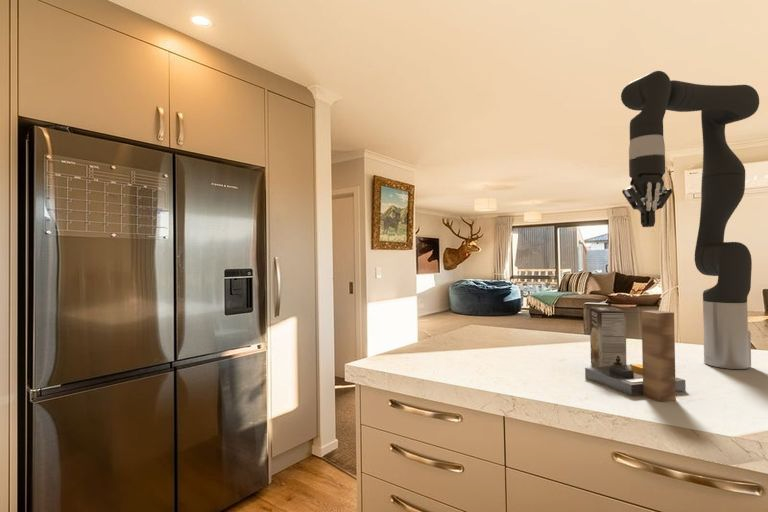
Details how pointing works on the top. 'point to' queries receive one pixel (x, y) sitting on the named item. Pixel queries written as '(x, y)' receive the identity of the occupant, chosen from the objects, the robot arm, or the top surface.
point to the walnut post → (658, 355)
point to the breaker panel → (624, 378)
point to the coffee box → (607, 336)
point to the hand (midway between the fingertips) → (647, 226)
